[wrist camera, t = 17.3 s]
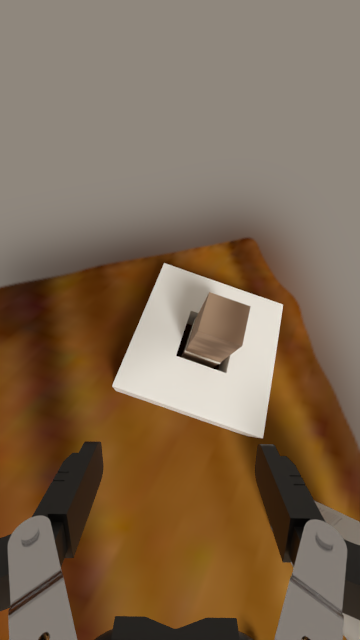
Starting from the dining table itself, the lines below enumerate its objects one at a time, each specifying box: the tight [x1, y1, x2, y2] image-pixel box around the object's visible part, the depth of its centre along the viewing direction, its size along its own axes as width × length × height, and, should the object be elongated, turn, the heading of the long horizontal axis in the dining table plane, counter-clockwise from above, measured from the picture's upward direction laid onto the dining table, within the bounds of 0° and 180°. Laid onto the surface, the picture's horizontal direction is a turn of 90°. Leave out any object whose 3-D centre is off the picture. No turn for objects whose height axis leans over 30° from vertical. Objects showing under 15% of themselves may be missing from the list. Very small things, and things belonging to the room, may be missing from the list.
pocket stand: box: [112, 263, 283, 438], centre depth 33 cm, size 18×18×4 cm
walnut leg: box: [181, 292, 251, 368], centre depth 30 cm, size 5×5×12 cm
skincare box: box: [271, 501, 360, 640], centre depth 21 cm, size 8×6×15 cm
